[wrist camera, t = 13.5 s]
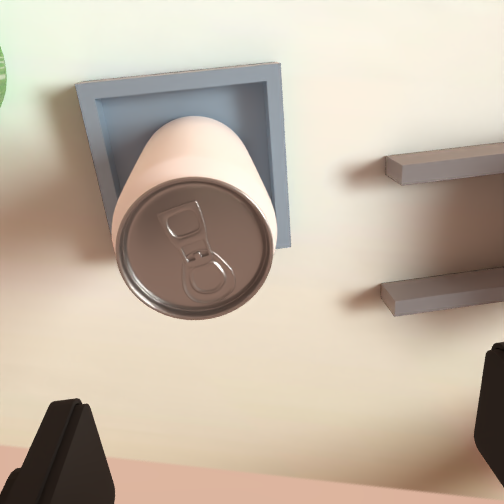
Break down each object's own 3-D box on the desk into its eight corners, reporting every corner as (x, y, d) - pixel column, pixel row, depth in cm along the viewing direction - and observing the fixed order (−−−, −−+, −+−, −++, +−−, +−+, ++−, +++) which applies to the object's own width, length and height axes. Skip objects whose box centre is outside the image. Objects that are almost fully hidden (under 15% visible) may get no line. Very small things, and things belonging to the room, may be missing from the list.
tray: (285, 234, 30) (291, 247, 28) (123, 255, 29) (119, 269, 28) (274, 61, 25) (280, 63, 24) (83, 81, 25) (74, 84, 23)
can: (166, 235, 29) (148, 351, 18) (122, 136, 26) (67, 203, 15) (264, 200, 28) (305, 297, 17) (229, 97, 26) (253, 136, 15)
